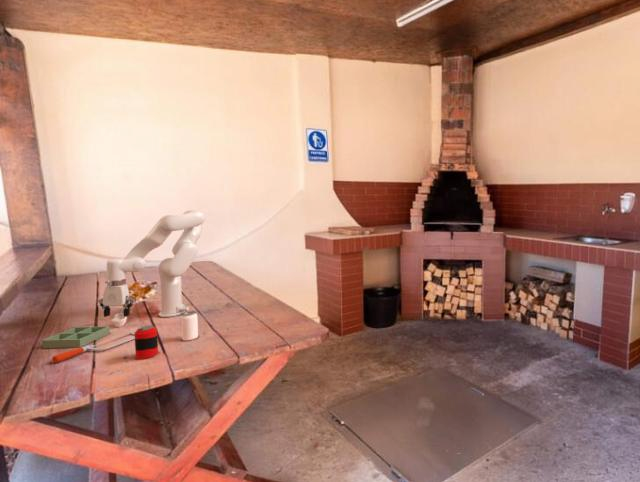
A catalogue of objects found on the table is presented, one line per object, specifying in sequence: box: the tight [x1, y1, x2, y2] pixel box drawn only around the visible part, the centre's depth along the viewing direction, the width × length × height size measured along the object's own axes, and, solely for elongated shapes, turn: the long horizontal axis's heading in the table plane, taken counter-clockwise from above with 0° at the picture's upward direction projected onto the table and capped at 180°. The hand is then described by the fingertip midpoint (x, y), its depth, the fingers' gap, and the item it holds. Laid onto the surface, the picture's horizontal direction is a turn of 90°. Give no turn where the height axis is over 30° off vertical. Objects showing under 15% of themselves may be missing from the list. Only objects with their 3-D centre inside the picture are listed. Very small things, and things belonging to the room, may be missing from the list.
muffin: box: [110, 312, 128, 328], centre depth 201 cm, size 6×6×7 cm
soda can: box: [134, 325, 159, 360], centre depth 166 cm, size 8×8×12 cm
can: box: [180, 310, 199, 342], centre depth 184 cm, size 6×6×12 cm
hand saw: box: [51, 331, 135, 364], centre depth 175 cm, size 33×3×10 cm
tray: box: [41, 325, 111, 349], centre depth 183 cm, size 16×16×4 cm
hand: (116, 316), depth 200 cm, fingers open, 9 cm apart
